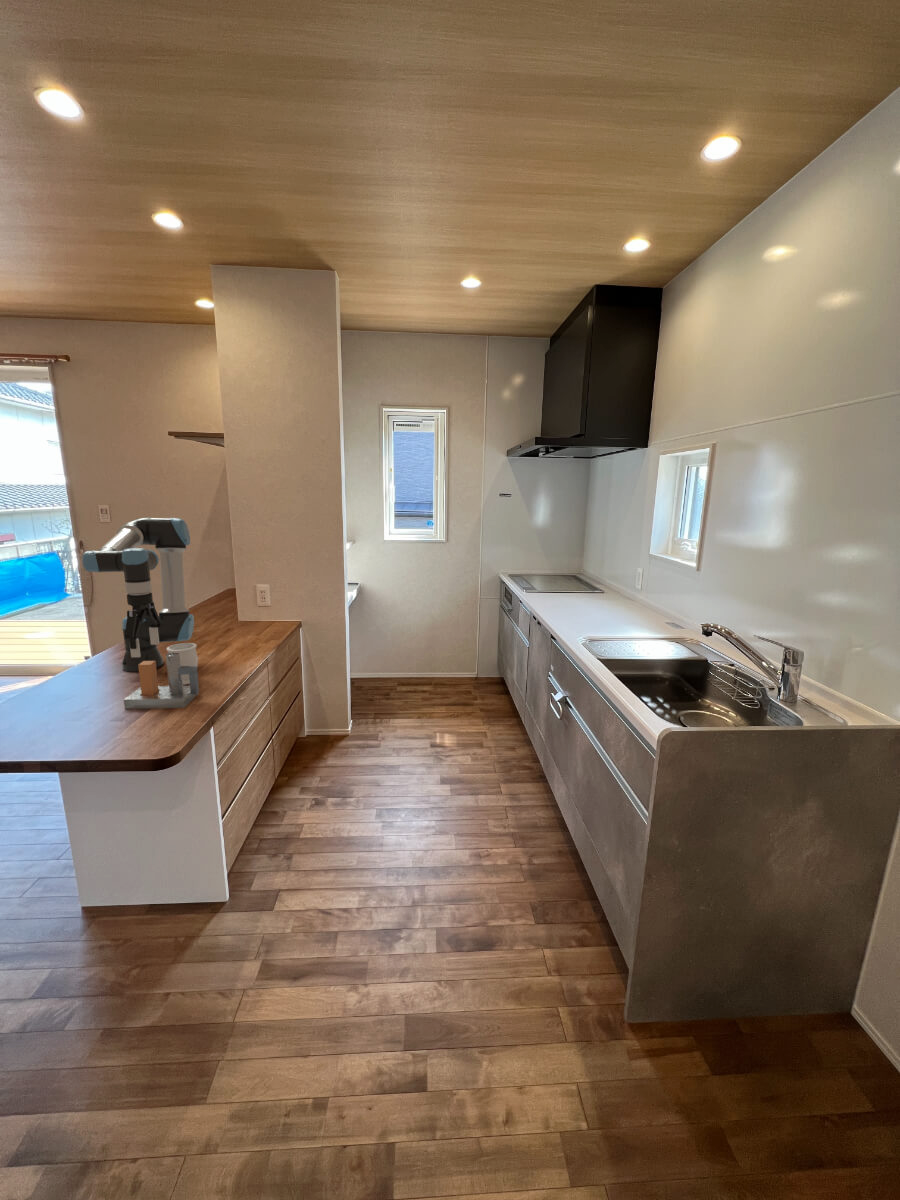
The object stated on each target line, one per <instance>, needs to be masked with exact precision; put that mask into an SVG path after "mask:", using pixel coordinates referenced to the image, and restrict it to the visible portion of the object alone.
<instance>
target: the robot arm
mask: <svg viewBox="0 0 900 1200" xmlns="http://www.w3.org/2000/svg"><path fill="white" fill-rule="evenodd" d="M188 527H189V526H188V525H187V522H186V521H185V520H184V519H183V518H175V517H141V518H136V519H133V520H131V521H129V522H126V523H124V524H122V526H120V527H119V528H118V529H117V531H116V534H114V536H113V537H112V538H111V539H110V540H108V541H107V542H106V543H104V545H103V546H102V547H100V548H99V549H98V550H87V551H86V550H85V552H83V554H82V558H81V561H82V566H83V569H84V570H85V571H86V572H88V573H113V572H114V573H118V572H119V573H120V572H121V573H122V572H123V575H124V586H125V592H126V600H127V601H126V602H127V605H129V606H131V609H132V610H127V611H126V617H124V619H122V624H121V625H122V629H121V630H122V635H123V641H124V642H123V643H124V649H125V652H124V655H123V659H122V663H121V667H122V668H121V669H122V671H123V670H124V671H126V672H135V673H136V672H139V667H138V665H139V664H140V663H142V662H143V661H156V669H157V668H159V667H161V666H163V665H164V659H163V656H162V654H161V652H160V650H159V648H158V645H160V643H169V642H171V643H173V642H186V641H189V640H190V639H191V638H192V636H193V632H194V628H195V617H194V614H192V613H190V609H188V608H187V607H186V597H185V579H184V577H185V576H184V558H183V553H184V552H185V551H186V550H187V546H189V545H190V544H191V536H190V530H189V528H188ZM141 545H142V546H144V545H145V546H155V547H154V548H155V550H156V551H157V552H158V553H159V555H158V553H157V552H155V551H154V550H151V549H146V548H141V547H139V546H141ZM159 564H160V582H161V584H160V585H161V599H162V608H161V609H160V610H159V611H157V609H156V607H155V602H154V600H153V599H154V598H153V592H152V591H153V589H152V587H153V586H152V581H151V572H150V571H152V570H154V569H156V567H157V566H158V565H159Z"/></svg>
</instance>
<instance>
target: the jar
mask: <svg viewBox="0 0 900 1200" xmlns="http://www.w3.org/2000/svg"><path fill="white" fill-rule="evenodd" d="M196 649H197V644H196V643H192V642H183V643H182V642H180V643H175V644H171V645H169V646H167V647H166V651H167V652H168V653H167V654H169V653H179V654H180V663H181V666H197V667H198V663H199V660H198V658H199V656H198V653H197V650H196ZM182 684H183V686H187V685H190V679H189V674H187V675H182Z"/></svg>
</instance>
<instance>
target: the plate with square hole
mask: <svg viewBox="0 0 900 1200" xmlns="http://www.w3.org/2000/svg"><path fill="white" fill-rule="evenodd" d="M168 653H169V652H168ZM168 653H167V654H165V661H166V663H165V664H166V672H167V682H168V685H158V688H159V692H158V693H157V694H155V695H142V694H141V686H139V688H137V689H136V690H134V691H133V692H132V693H131V694H128V696H126V697H125V698H124V699H123V705H124V709H125V710H127V709H128V710H131V709H133V710H134V709H137V710H138V709H143V710H144V709H178V708H179V709H183V708H184V709H185V708H186V707H187V706H188V705H189V704H190V703H191V701H193V700H194V699H195V697H197V695H199V692H200V687H199V674H198V665H197V666H181V663H180V654H179V653H169V654H168ZM187 674H189V679H190V684H189V685H183V684H182V675H187Z"/></svg>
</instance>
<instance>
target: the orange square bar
mask: <svg viewBox="0 0 900 1200" xmlns="http://www.w3.org/2000/svg"><path fill="white" fill-rule="evenodd" d="M138 667H139V671H138V674H139V683H140V687H141V694H142V695H155V694H157V693H158V692H159V688H158V686H159V682H158V681H159V679H158V671H157V668H156V661H143V662H142V663H140V664H139V665H138Z"/></svg>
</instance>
